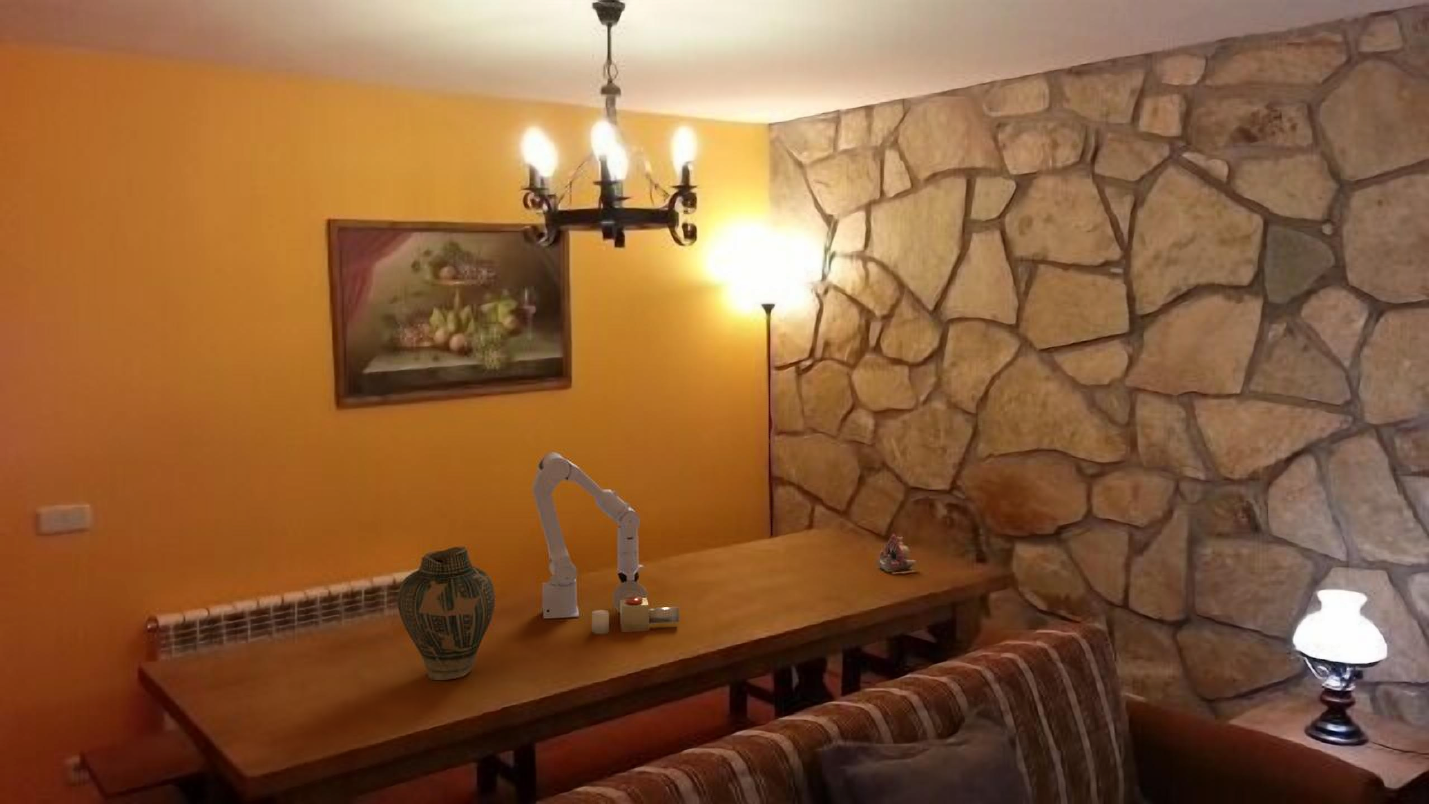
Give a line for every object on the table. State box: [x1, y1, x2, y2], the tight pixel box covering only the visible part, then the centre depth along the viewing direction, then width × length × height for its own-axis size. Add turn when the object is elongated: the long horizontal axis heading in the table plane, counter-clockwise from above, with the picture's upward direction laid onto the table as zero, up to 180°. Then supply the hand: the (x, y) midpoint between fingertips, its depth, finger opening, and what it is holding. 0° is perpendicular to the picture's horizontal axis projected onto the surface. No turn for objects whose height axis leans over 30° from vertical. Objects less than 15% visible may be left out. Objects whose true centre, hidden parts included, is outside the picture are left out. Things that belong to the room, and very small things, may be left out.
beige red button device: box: [619, 597, 680, 633], centre depth 304 cm, size 15×11×8 cm
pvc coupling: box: [591, 609, 610, 635], centre depth 299 cm, size 4×4×5 cm
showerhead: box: [612, 581, 648, 613], centre depth 315 cm, size 9×7×10 cm
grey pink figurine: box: [877, 533, 917, 575], centre depth 355 cm, size 11×11×12 cm
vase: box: [397, 546, 496, 681], centre depth 268 cm, size 22×22×30 cm
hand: (628, 598), depth 318 cm, fingers closed
